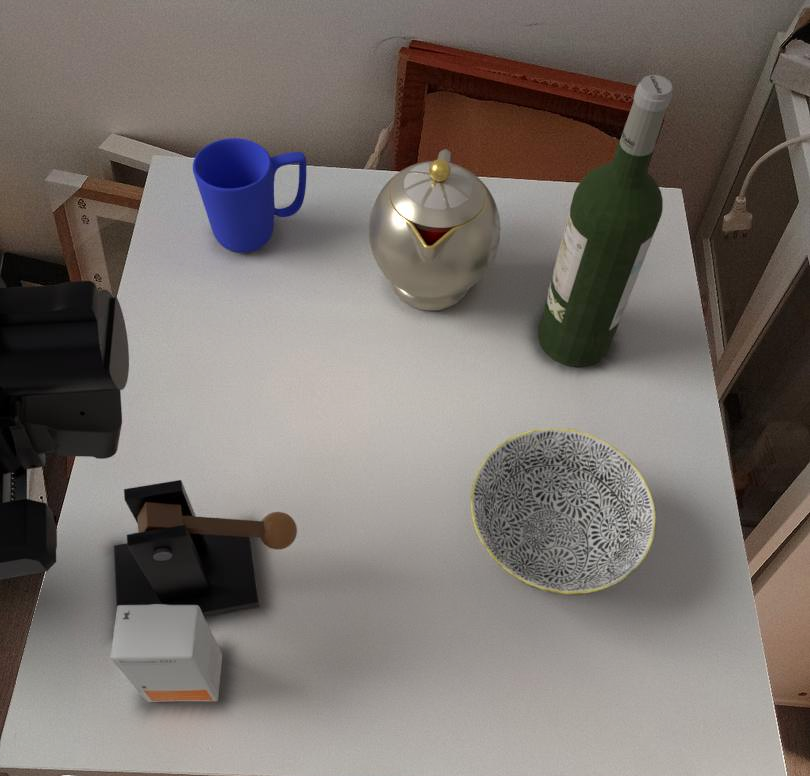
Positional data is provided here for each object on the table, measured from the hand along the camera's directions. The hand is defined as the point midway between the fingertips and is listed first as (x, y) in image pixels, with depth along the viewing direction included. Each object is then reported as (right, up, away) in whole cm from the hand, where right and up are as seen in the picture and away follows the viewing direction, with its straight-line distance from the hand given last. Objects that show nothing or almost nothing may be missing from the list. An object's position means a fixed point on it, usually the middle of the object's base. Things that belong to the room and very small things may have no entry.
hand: (45, 505), depth 63 cm
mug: (+11, +31, +33) cm, 47 cm away
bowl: (+41, -4, +15) cm, 43 cm away
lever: (+12, -3, +6) cm, 13 cm away
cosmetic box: (+9, -15, +7) cm, 19 cm away
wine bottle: (+46, +17, +27) cm, 56 cm away
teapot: (+30, +26, +31) cm, 50 cm away
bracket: (+8, -7, +11) cm, 15 cm away
